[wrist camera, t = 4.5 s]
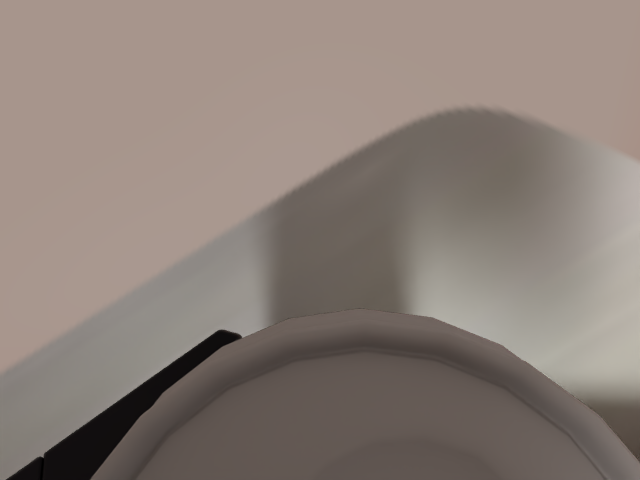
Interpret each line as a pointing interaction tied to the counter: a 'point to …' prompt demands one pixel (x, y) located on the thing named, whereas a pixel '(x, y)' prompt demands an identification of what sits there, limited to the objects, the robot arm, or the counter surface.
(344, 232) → the counter surface
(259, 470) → the beverage can
